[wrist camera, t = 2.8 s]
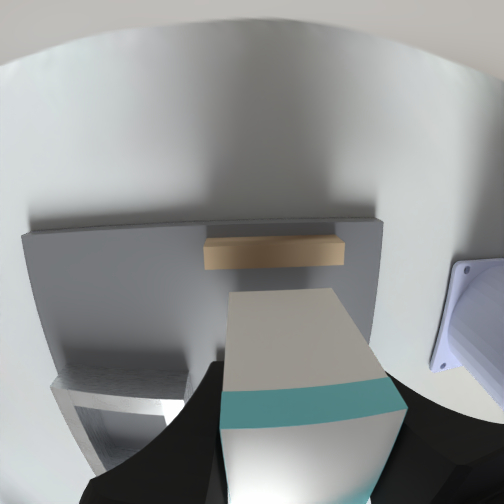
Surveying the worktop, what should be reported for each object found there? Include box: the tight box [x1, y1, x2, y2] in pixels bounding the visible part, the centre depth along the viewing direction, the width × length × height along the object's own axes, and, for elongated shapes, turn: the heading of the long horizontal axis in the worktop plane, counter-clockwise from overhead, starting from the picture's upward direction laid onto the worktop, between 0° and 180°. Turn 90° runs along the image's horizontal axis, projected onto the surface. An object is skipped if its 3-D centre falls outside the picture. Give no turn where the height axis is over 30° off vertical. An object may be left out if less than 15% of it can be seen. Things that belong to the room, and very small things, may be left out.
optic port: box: [50, 363, 193, 476], centre depth 17 cm, size 8×9×2 cm
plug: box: [220, 288, 408, 504], centre depth 10 cm, size 4×5×7 cm
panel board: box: [21, 218, 383, 449], centre depth 18 cm, size 19×17×1 cm
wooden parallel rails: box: [203, 235, 345, 270], centre depth 15 cm, size 6×8×2 cm
